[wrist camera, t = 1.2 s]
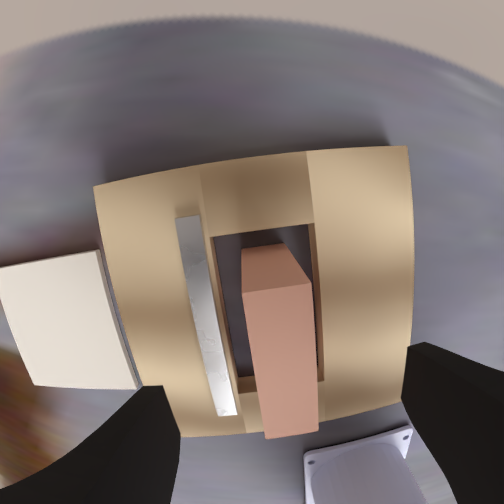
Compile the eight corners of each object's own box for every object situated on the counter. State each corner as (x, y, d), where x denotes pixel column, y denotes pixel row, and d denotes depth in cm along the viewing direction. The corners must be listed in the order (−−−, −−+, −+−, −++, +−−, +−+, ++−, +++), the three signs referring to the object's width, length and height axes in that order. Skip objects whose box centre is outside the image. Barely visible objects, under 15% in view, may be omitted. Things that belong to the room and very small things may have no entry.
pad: (138, 384, 16) (136, 389, 16) (37, 381, 16) (34, 384, 16) (99, 249, 14) (95, 251, 14) (-3, 267, 14) (-8, 269, 14)
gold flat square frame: (392, 387, 17) (405, 406, 15) (168, 421, 17) (162, 443, 15) (392, 148, 14) (412, 144, 12) (106, 185, 14) (87, 186, 12)
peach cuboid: (295, 353, 16) (318, 430, 10) (257, 359, 16) (265, 439, 10) (284, 242, 15) (311, 282, 9) (241, 248, 15) (241, 293, 9)
